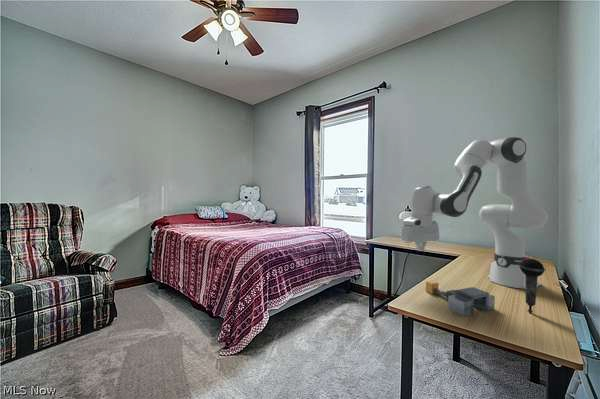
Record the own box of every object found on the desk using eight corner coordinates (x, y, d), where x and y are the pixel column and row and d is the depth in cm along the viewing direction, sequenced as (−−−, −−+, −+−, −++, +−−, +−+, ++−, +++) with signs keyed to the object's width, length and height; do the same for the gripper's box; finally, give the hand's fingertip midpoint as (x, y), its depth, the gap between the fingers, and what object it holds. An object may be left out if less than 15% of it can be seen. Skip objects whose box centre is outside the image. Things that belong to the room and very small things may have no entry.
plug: (432, 290, 110) (432, 280, 110) (464, 303, 97) (465, 292, 97) (425, 291, 108) (425, 281, 108) (456, 305, 95) (457, 294, 95)
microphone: (542, 312, 90) (544, 258, 90) (544, 319, 85) (546, 262, 85) (517, 306, 95) (519, 255, 94) (517, 312, 90) (519, 258, 89)
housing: (477, 302, 98) (478, 285, 98) (494, 309, 92) (494, 291, 92) (448, 309, 92) (448, 291, 92) (463, 316, 86) (464, 297, 86)
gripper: (431, 220, 120) (430, 248, 120) (399, 220, 112) (398, 250, 113) (443, 221, 114) (442, 250, 114) (410, 222, 107) (409, 253, 107)
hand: (420, 250), depth 113 cm, fingers closed
